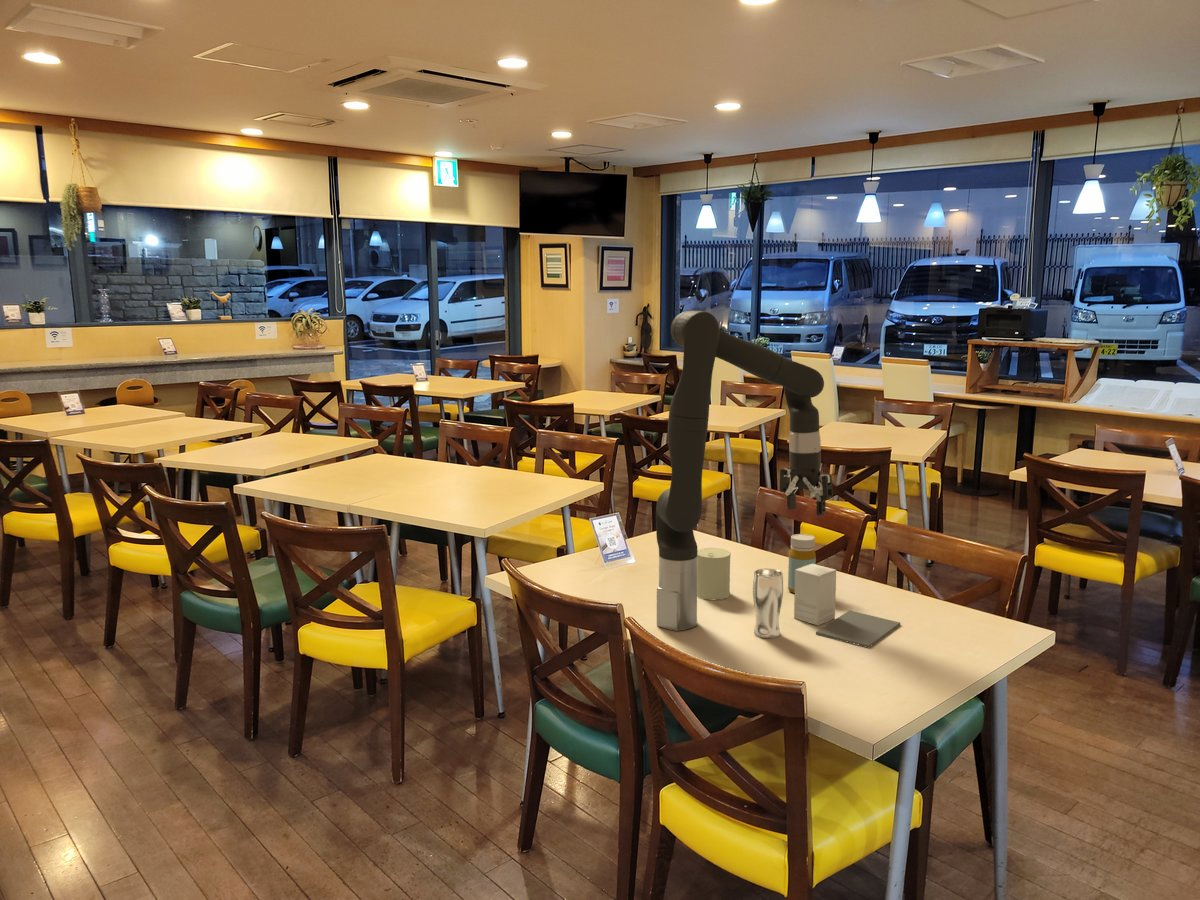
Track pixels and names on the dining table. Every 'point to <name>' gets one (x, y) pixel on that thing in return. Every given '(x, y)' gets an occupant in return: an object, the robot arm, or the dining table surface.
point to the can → (713, 573)
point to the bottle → (800, 556)
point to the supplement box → (815, 594)
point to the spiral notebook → (858, 628)
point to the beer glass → (767, 601)
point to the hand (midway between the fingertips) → (806, 512)
